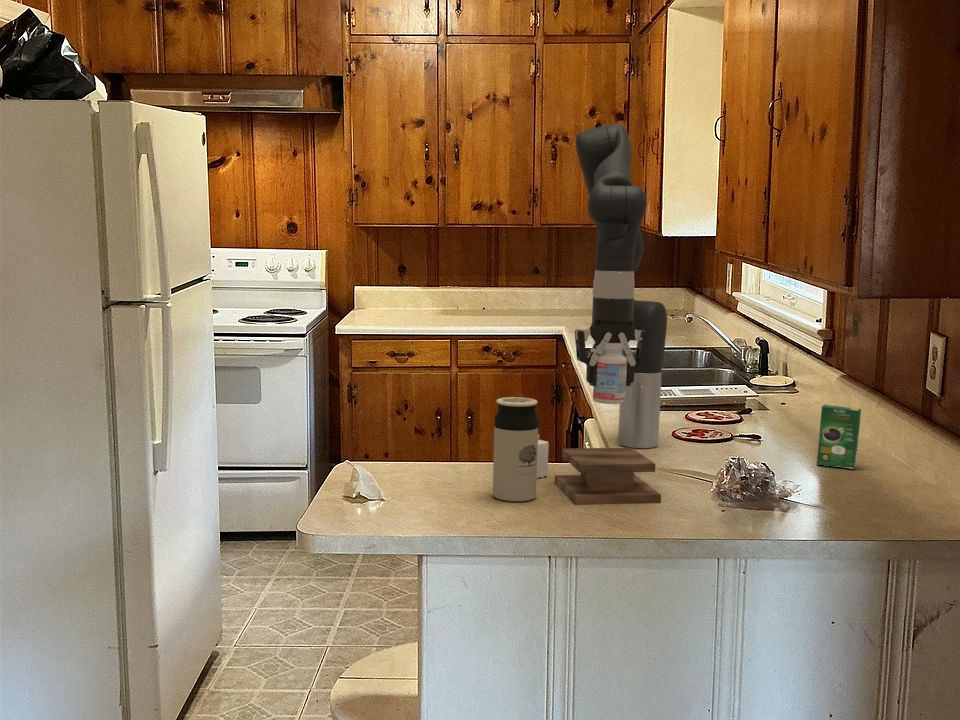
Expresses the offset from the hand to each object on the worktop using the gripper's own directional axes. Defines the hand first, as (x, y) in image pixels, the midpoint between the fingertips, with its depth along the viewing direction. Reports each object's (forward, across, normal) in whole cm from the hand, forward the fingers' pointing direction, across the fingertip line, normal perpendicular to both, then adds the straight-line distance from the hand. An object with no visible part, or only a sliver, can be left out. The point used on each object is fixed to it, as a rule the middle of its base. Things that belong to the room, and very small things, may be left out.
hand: (609, 385), depth 193 cm
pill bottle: (+3, 0, 0) cm, 3 cm away
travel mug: (+21, -18, -2) cm, 27 cm away
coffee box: (+21, +56, +17) cm, 62 cm away
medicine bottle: (+21, -13, +14) cm, 28 cm away
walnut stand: (+20, 0, 0) cm, 20 cm away
